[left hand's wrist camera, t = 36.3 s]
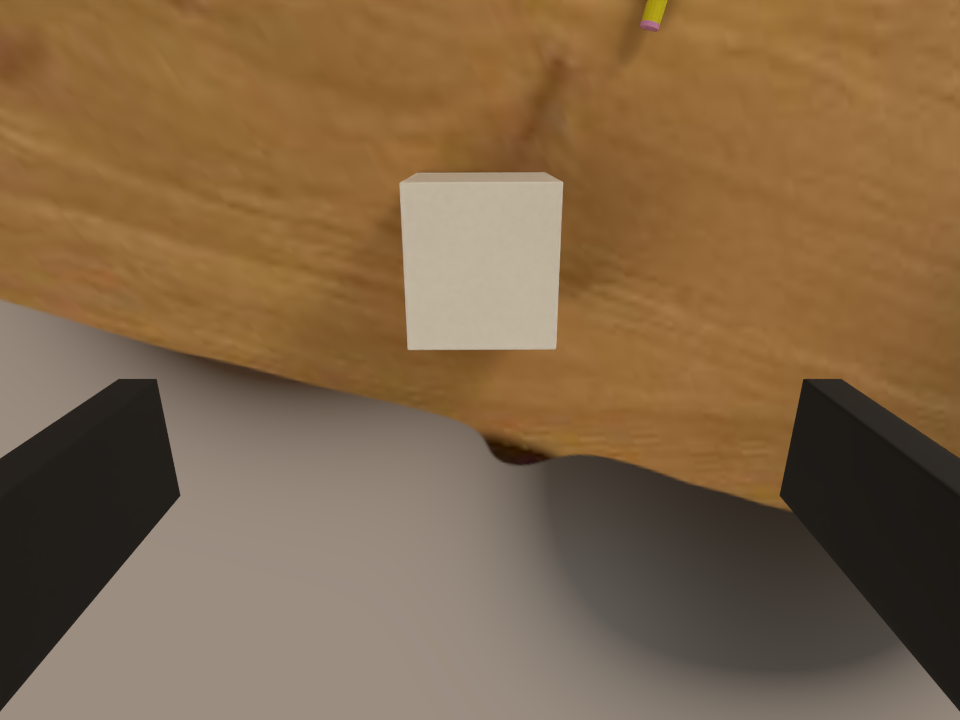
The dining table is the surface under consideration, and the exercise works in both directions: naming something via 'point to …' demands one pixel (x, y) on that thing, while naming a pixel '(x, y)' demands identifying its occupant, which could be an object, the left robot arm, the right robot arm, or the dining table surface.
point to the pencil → (653, 14)
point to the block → (481, 260)
